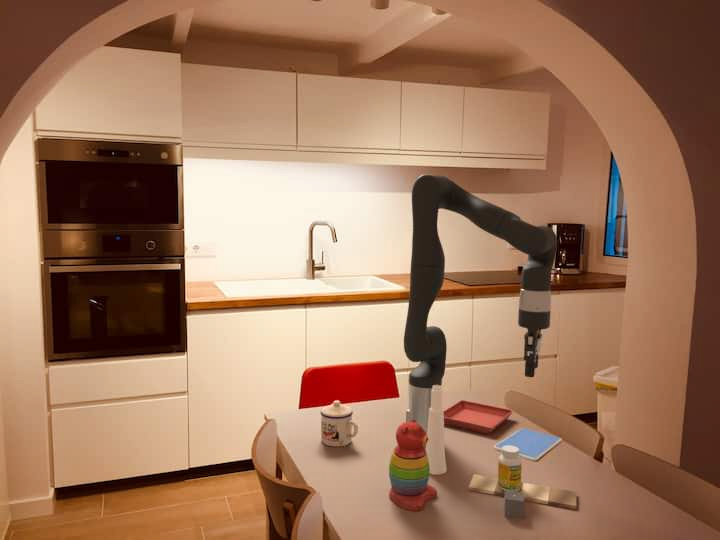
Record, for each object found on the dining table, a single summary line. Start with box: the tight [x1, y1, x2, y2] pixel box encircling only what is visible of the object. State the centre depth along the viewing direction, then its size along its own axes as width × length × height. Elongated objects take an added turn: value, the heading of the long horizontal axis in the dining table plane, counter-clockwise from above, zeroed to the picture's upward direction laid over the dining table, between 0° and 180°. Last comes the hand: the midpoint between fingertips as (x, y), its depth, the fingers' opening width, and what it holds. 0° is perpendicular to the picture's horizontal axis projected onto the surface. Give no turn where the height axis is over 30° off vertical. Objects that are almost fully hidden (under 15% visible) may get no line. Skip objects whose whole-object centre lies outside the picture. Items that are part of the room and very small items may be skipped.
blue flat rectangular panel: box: [493, 427, 562, 462], centre depth 167 cm, size 19×13×1 cm, turn 140°
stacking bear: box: [388, 419, 438, 512], centre depth 135 cm, size 11×10×18 cm
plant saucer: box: [444, 399, 514, 435], centre depth 183 cm, size 18×18×3 cm
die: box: [503, 491, 525, 519], centre depth 129 cm, size 4×4×4 cm
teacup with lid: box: [320, 400, 359, 447], centre depth 166 cm, size 12×9×12 cm
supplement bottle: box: [497, 445, 523, 492], centre depth 139 cm, size 5×5×10 cm
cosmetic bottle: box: [425, 385, 448, 476], centre depth 148 cm, size 6×6×22 cm
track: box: [468, 473, 577, 510], centre depth 138 cm, size 24×7×1 cm, turn 69°
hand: (531, 372), depth 145 cm, fingers open, 8 cm apart
